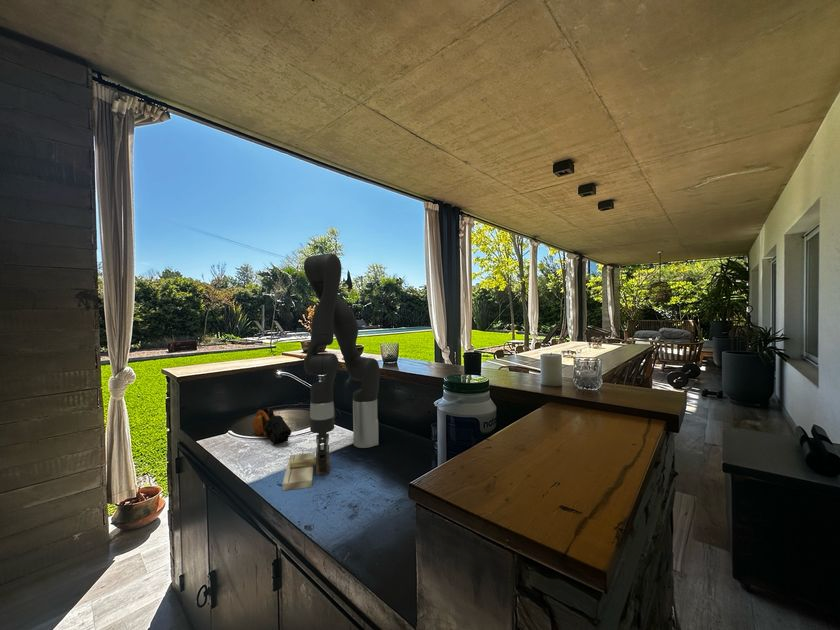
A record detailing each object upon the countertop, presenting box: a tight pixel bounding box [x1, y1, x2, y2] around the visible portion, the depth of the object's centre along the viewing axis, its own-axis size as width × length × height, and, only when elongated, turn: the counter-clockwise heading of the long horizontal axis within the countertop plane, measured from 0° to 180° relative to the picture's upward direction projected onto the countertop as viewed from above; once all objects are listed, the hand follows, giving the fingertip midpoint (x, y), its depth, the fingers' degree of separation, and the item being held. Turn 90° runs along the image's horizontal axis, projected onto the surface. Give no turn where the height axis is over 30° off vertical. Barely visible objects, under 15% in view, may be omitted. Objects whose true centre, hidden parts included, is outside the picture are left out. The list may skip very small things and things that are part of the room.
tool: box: [252, 406, 292, 446], centre depth 137 cm, size 8×23×15 cm, turn 47°
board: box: [282, 451, 316, 492], centre depth 109 cm, size 8×20×2 cm, turn 15°
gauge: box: [290, 445, 330, 476], centre depth 109 cm, size 12×5×8 cm, turn 105°
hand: (323, 467), depth 110 cm, fingers closed on gauge, 5 cm apart
